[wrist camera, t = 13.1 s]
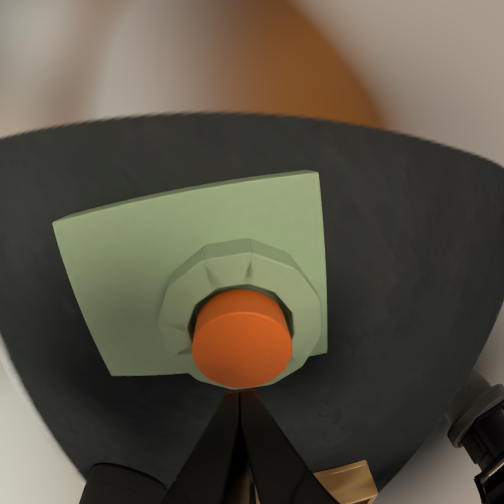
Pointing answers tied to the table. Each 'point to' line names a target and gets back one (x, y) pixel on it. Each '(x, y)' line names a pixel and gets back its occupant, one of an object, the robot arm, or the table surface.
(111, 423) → the table surface
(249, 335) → the button
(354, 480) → the wooden case
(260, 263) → the control block
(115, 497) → the pen holder
